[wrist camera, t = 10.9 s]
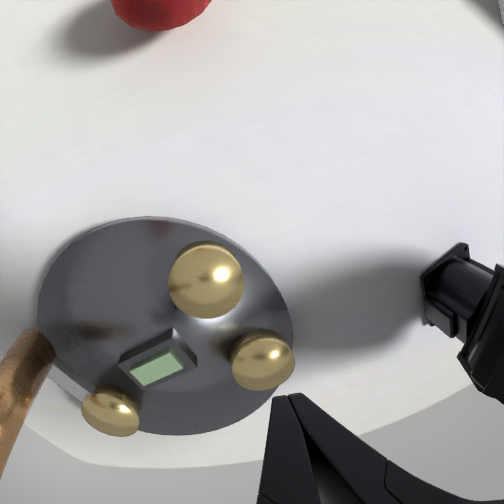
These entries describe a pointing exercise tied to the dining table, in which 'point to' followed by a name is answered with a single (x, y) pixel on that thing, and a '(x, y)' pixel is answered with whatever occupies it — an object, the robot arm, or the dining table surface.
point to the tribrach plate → (169, 322)
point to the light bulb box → (501, 9)
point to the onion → (158, 12)
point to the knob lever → (48, 364)
